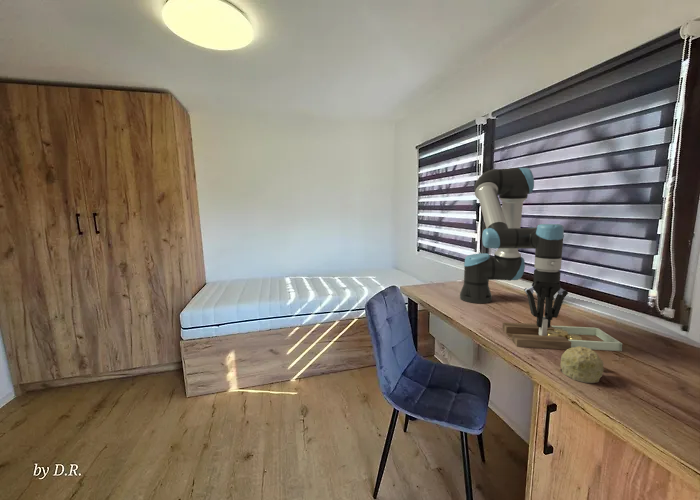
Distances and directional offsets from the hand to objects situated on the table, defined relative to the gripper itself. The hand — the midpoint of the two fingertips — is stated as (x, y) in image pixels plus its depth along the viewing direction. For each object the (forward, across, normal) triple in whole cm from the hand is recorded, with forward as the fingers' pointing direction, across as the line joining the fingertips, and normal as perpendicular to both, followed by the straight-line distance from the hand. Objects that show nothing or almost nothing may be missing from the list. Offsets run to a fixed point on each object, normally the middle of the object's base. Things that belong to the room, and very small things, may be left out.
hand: (542, 335), depth 103 cm
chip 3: (+2, +9, -1) cm, 9 cm away
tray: (+2, +13, 0) cm, 13 cm away
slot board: (+2, -3, 0) cm, 3 cm away
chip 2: (+1, +6, +2) cm, 7 cm away
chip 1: (+1, +3, 0) cm, 3 cm away
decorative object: (+2, +1, -21) cm, 21 cm away
